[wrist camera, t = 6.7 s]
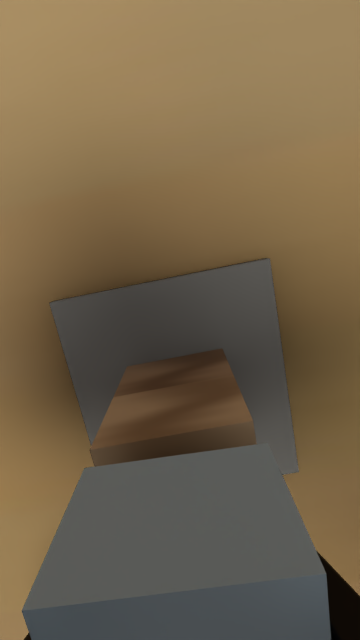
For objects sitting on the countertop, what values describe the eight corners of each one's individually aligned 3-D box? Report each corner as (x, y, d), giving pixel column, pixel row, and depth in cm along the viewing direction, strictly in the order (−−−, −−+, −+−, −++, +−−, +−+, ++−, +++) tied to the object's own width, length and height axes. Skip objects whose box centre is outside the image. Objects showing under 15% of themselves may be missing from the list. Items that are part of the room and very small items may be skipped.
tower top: (233, 374, 13) (252, 420, 9) (251, 479, 14) (275, 555, 11) (113, 397, 13) (89, 450, 10) (140, 499, 14) (127, 579, 11)
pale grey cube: (267, 443, 8) (326, 573, 5) (283, 589, 10) (341, 779, 6) (84, 468, 9) (21, 610, 5) (120, 609, 10) (87, 804, 6)
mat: (266, 258, 16) (269, 258, 15) (295, 464, 18) (298, 472, 18) (54, 300, 16) (49, 302, 16) (110, 496, 19) (108, 504, 18)
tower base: (222, 348, 16) (233, 374, 13) (237, 434, 17) (251, 479, 14) (127, 366, 16) (113, 397, 13) (147, 450, 18) (140, 499, 14)
